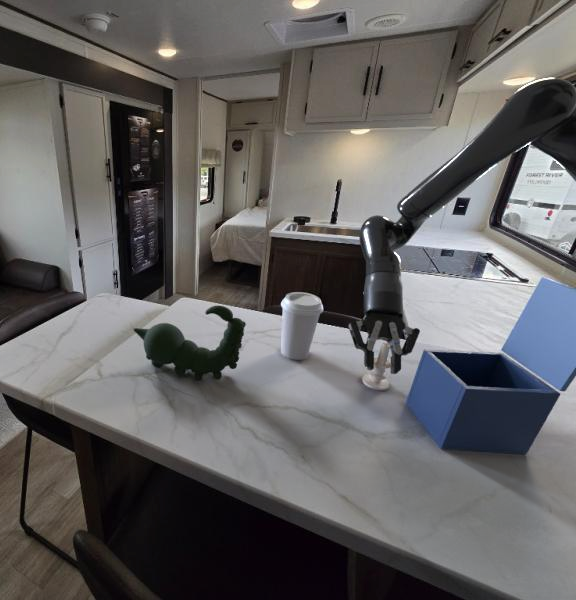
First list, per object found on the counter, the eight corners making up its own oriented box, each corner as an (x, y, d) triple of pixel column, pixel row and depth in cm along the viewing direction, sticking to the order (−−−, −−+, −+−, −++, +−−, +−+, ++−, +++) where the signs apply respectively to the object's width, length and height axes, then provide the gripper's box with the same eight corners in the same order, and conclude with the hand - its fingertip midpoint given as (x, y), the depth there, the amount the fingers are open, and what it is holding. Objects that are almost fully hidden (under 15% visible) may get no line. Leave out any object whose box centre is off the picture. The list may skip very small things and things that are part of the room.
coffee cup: (298, 340, 92) (306, 288, 85) (322, 359, 83) (334, 303, 77) (267, 346, 89) (274, 293, 83) (289, 366, 81) (298, 309, 74)
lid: (618, 306, 46) (624, 306, 46) (541, 276, 56) (546, 277, 56) (559, 391, 52) (565, 391, 52) (500, 350, 62) (505, 350, 62)
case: (440, 449, 58) (466, 388, 53) (405, 403, 69) (423, 349, 64) (526, 454, 57) (561, 393, 52) (477, 407, 68) (501, 352, 62)
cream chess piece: (384, 377, 77) (396, 337, 72) (392, 392, 72) (405, 350, 68) (359, 374, 78) (369, 334, 73) (365, 388, 73) (376, 347, 69)
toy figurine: (237, 374, 81) (140, 348, 87) (251, 302, 72) (143, 280, 79) (229, 399, 72) (123, 369, 79) (244, 322, 64) (125, 295, 71)
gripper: (352, 286, 75) (349, 362, 70) (426, 293, 72) (429, 374, 66) (344, 299, 82) (341, 369, 76) (411, 306, 78) (413, 380, 73)
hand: (382, 371), depth 71 cm, fingers closed on cream chess piece, 4 cm apart
